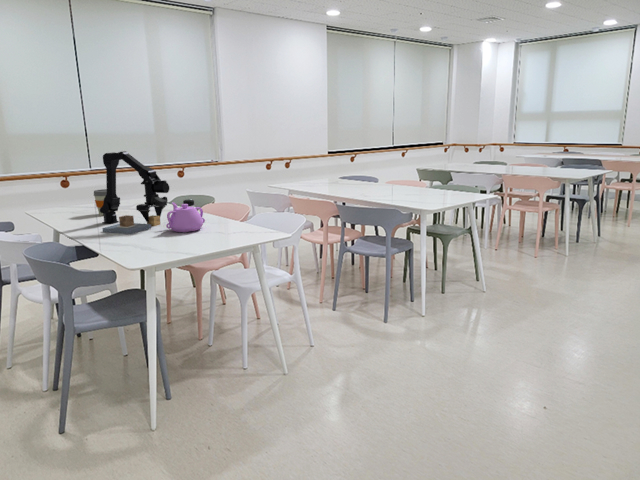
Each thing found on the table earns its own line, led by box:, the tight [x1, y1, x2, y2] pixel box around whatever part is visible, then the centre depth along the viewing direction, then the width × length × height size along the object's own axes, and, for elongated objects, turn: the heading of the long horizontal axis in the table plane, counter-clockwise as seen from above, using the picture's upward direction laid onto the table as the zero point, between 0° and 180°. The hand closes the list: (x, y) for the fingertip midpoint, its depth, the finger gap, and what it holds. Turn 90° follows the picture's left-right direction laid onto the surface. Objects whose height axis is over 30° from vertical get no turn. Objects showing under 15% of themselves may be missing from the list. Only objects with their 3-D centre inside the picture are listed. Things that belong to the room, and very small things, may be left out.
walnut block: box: [118, 214, 135, 227], centre depth 260 cm, size 5×5×5 cm
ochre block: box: [146, 215, 161, 227], centre depth 273 cm, size 5×5×5 cm
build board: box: [102, 222, 152, 235], centre depth 261 cm, size 18×16×2 cm
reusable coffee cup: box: [93, 188, 107, 216], centre depth 308 cm, size 13×13×15 cm
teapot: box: [165, 201, 206, 233], centre depth 259 cm, size 22×22×14 cm
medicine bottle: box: [182, 198, 199, 212], centre depth 284 cm, size 7×7×12 cm
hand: (153, 220), depth 273 cm, fingers open, 9 cm apart
